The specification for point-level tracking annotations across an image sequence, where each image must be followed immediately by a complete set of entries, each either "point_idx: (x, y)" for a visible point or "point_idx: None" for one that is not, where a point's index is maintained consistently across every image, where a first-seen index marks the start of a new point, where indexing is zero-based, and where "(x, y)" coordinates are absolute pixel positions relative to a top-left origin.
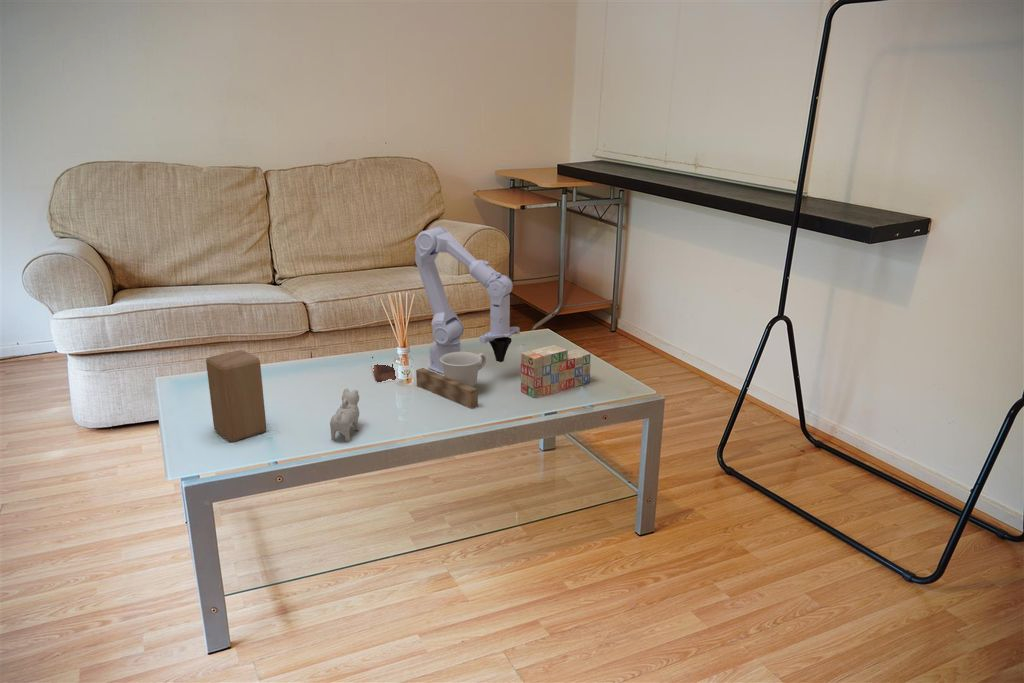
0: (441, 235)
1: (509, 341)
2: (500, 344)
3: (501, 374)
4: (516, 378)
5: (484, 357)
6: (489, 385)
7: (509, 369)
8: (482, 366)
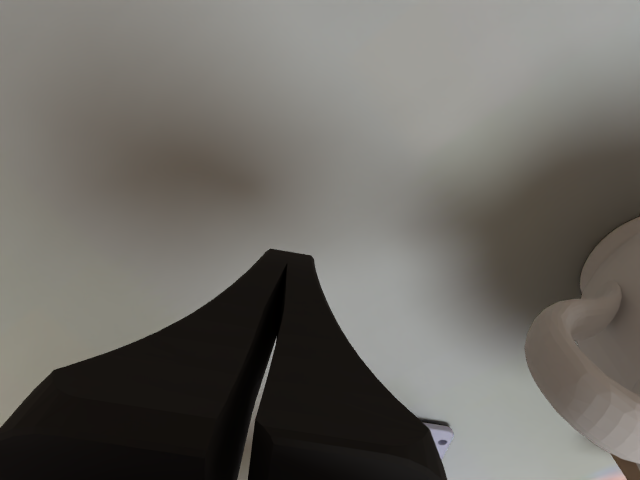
0: None
1: (122, 392)
2: (421, 432)
3: (241, 238)
4: (227, 105)
5: (600, 373)
6: (470, 181)
7: (135, 250)
8: (574, 304)
